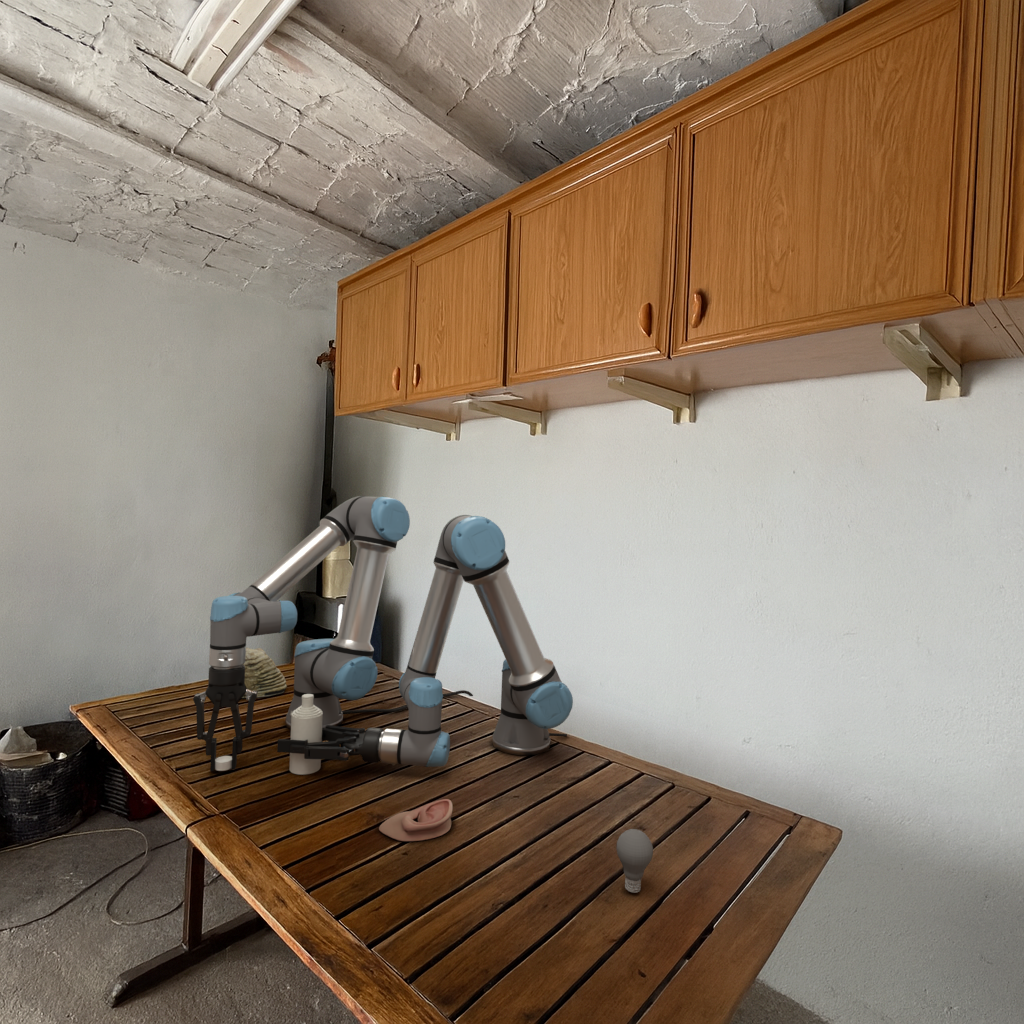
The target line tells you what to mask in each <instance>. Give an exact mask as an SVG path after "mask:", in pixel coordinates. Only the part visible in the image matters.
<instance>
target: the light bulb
mask: <svg viewBox="0 0 1024 1024" xmlns="http://www.w3.org/2000/svg"><path fill="white" fill-rule="evenodd" d="M615 849H616V854H617V857H618V859H619V861H620V863H621V865H622V867H623V873H624V874H623V875H624V876H625V878H624V888H625V890H627V891H628V892H630V893H634V894H635V893H639V892H640V891H641V889H642V887H641V886H642V879H643V877H644V875H645V871H646V868H647V867H648V866H649V864H650V863H651V861H652V859H653V855H654V847H653V843H652V841H651V838H649V836H648V835H647V834H646V833H645V832H643V831H642V830H641V829H636V828H629V829H627V830H625V831H623V832H622V833H621V834H620V835H619V837H618V839H617V841H616V847H615Z"/></svg>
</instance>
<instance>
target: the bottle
mask: <svg viewBox="0 0 1024 1024" xmlns="http://www.w3.org/2000/svg"><path fill="white" fill-rule="evenodd" d="M313 698H314V695H313V694H304V695H302V705H301V706H300V707H298V708H297V709H296V710H294V711H293V712H292V714H291V729H290V739H289V740H303V741H305V740H308V743H312V742H322V718H323V712H322V710H321V709H319V708H318V707H316V706H315V705H313ZM321 765H322V759H304V754H300V753H289V772H290V773H291V774H294V775H298V776H299V775H301V776H302V775H303V776H305V775H310V774H314V773H317V772H318V771H320V769H321V767H322V766H321Z"/></svg>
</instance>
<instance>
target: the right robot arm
mask: <svg viewBox="0 0 1024 1024" xmlns="http://www.w3.org/2000/svg"><path fill="white" fill-rule="evenodd" d="M509 564H510V559H509V557H508V554H507V552H506V538H505V534H504V532H503V531H502V529H501V528H500V526H499V525H498V524H497V523H495V522H494V521H492V520H491V519H489V518H487V517H485V516H479V515H470V514H461V515H457V516H455V517H453V518H451V519H450V520H449V521H447V523H446V524H445V525H444V526H443V528H442V530H441V533H440V537H439V540H438V544H437V548H436V552H435V555H434V559H433V565H434V566H435V570H434V574H433V576H432V580H431V584H430V585H429V586H430V587H429V590H428V594H427V597H426V601H425V604H424V607H423V611H422V614H421V617H420V620H419V624H418V628H417V631H416V634H415V638H414V641H413V644H412V648H411V652H410V655H409V658H408V662H407V666H406V669H405V671H404V672H403V673H402V675H400V678H399V680H398V690H399V693H400V696H401V698H402V699H403V701H404V702H405V705H407V707H408V708H407V710H408V725H407V729H402V728H385V729H383V728H382V727H368V728H367V729H366V727H365V728H364V727H350V726H349V727H348V726H340V725H339V726H331V725H327V726H326V728H322V742H312V743H308V740H305V741H303V740H290V739H287V738H286V739H285V738H278V739H277V746H276V748H277V749H276V752H277V753H289V754H290V753H300V754H304V759H321V760H332V761H333V760H337V761H342V762H343V761H344V762H347V761H349V760H350V759H349V758H350V756H359V755H360V756H361V760H362V761H363V762H364V763H373V764H378V763H381V764H391V765H392V766H396V765H408V766H418V767H425V768H439V767H445V765H447V764H448V761H449V756H450V752H451V751H450V750H451V737H450V736H451V735H450V734H449V733H448V732H445V731H442V714H443V713H442V712H443V711H442V710H443V698H444V697H443V694H444V693H443V683H442V681H441V680H440V679H438V678H436V677H437V671H438V669H439V667H440V662H441V658H442V656H443V652H444V648H445V645H446V642H447V638H448V636H449V632H450V628H451V625H452V621H453V618H454V614H455V611H456V608H457V604H458V601H459V598H460V594H461V591H462V587H463V584H464V583H467V584H470V585H472V586H473V588H474V590H475V593H476V596H477V597H478V599H479V602H480V604H481V606H482V609H483V611H484V613H485V615H486V617H487V620H488V622H489V624H490V626H491V629H492V632H493V633H494V636H495V638H496V640H497V643H498V645H499V648H500V649H501V652H502V653H503V656H504V658H505V659H504V660H503V661H502V669H501V695H500V714H499V717H498V719H497V722H496V725H495V728H494V731H493V732H492V733H493V734H492V741H491V742H492V746H493V747H494V748H495V749H496V750H498V751H499V752H502V753H505V754H509V755H514V756H516V755H517V756H533V755H535V756H536V755H540V754H542V753H543V754H544V753H545V752H547V751H548V750H550V747H551V737H560V738H561V737H562V738H567V737H568V734H567V733H559V732H557V733H556V732H549V730H551V729H554V728H557V727H559V726H560V725H562V724H563V723H565V721H566V720H567V719H568V718H569V716H570V713H571V711H572V709H573V704H574V698H573V694H572V691H571V690H570V688H569V687H568V686H567V685H566V684H565V683H564V682H563V681H562V680H561V677H560V675H559V673H558V671H557V667H556V666H555V663H554V662H553V661H552V659H550V658H546V657H544V654H543V652H542V650H541V647H540V645H539V643H538V640H537V637H536V635H535V633H534V631H533V629H532V626H531V624H530V622H529V619H528V617H527V615H526V612H525V610H524V607H523V606H522V603H521V601H520V598H519V596H518V594H517V592H516V589H515V587H514V584H513V582H512V579H511V577H510V575H509V572H508V567H509Z"/></svg>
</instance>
